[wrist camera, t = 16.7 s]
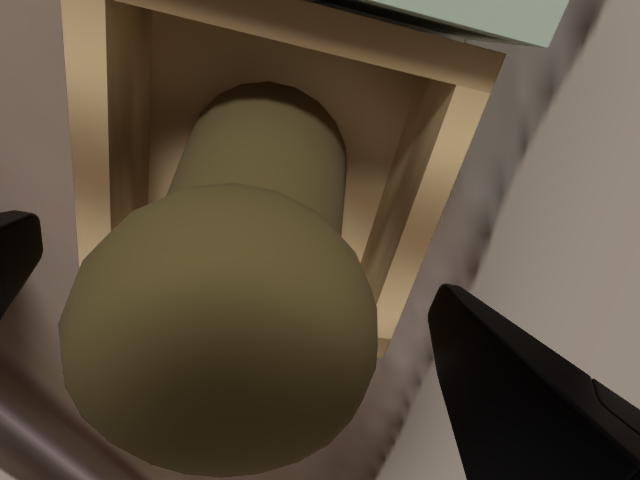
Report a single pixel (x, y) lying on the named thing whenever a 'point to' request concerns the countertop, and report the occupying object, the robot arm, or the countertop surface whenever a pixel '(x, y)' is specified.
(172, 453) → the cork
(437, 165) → the socket block
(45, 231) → the countertop surface
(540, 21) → the track and backstop
